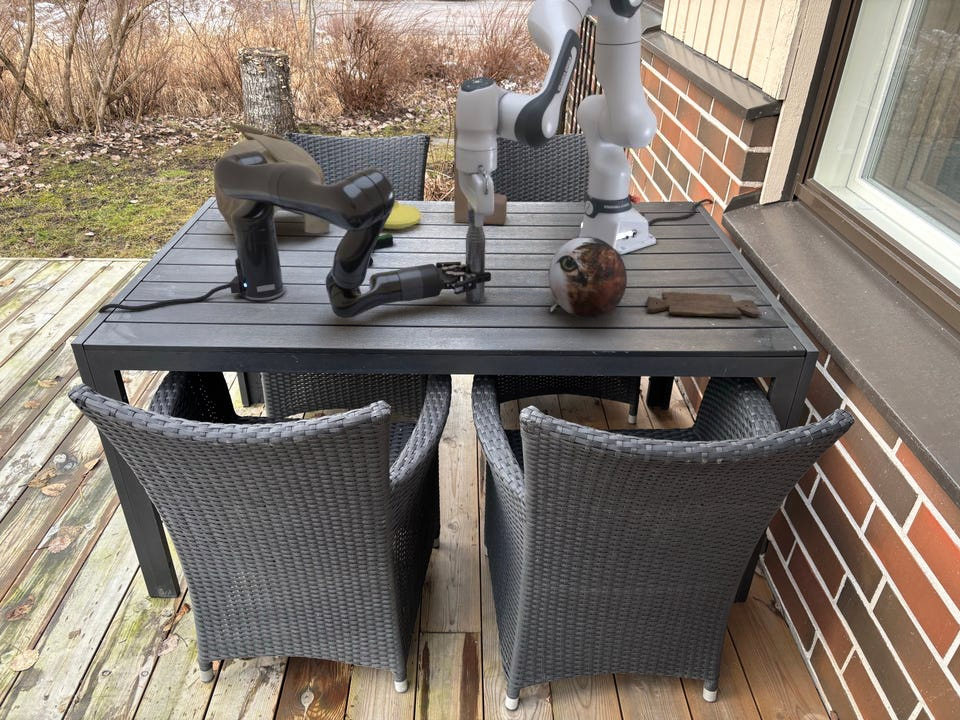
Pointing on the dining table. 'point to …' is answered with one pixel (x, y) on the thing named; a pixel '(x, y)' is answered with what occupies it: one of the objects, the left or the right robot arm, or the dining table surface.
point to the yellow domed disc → (402, 217)
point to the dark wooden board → (702, 305)
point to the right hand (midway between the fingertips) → (475, 221)
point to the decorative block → (462, 203)
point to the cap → (471, 216)
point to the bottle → (475, 261)
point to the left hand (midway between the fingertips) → (485, 272)
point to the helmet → (274, 152)
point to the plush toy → (587, 277)
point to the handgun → (382, 244)
